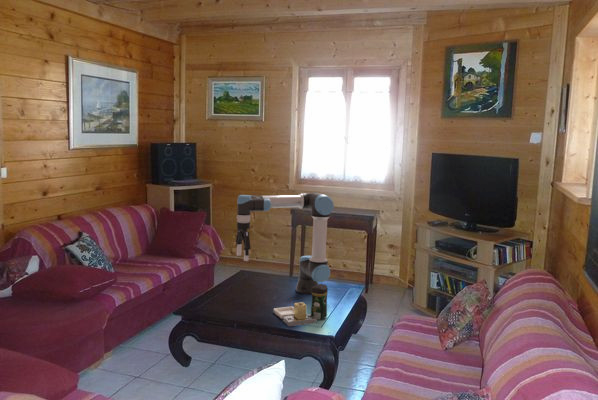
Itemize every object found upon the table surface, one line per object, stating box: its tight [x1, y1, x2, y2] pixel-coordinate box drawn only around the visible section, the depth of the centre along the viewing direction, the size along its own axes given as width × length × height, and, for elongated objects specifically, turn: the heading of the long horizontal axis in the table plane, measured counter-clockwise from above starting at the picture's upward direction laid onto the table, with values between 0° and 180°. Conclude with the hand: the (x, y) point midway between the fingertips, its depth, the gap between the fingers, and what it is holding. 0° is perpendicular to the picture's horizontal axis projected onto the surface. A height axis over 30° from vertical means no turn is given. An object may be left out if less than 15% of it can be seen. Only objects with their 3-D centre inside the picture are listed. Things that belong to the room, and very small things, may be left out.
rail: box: [282, 313, 317, 327], centre depth 279 cm, size 16×8×2 cm, turn 114°
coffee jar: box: [310, 283, 328, 321], centre depth 286 cm, size 10×8×19 cm
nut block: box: [293, 301, 308, 320], centre depth 279 cm, size 5×5×10 cm
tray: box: [273, 305, 294, 320], centre depth 290 cm, size 12×12×2 cm
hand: (242, 258), depth 300 cm, fingers open, 13 cm apart
